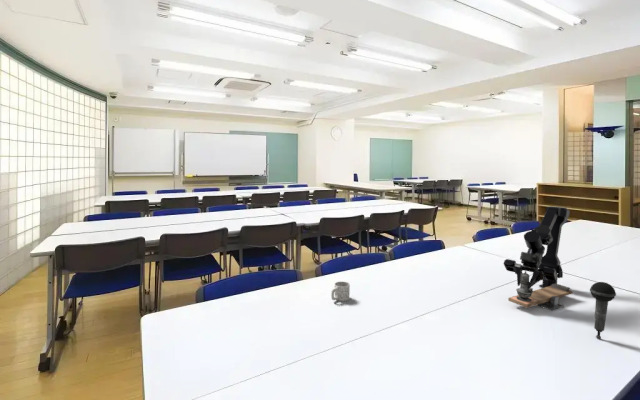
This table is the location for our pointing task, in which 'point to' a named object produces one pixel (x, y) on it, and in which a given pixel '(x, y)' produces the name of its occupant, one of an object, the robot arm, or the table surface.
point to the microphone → (601, 303)
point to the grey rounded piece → (524, 289)
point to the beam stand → (551, 303)
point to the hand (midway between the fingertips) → (523, 286)
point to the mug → (341, 291)
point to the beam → (543, 295)
